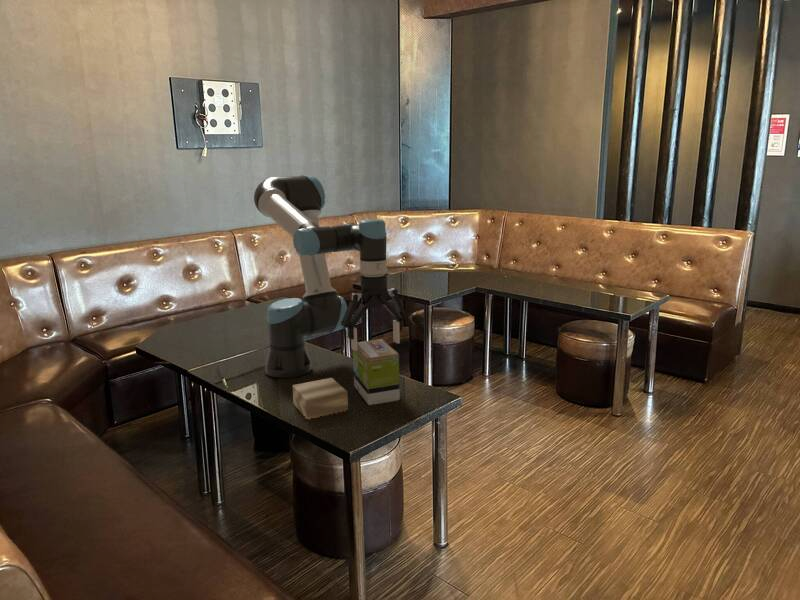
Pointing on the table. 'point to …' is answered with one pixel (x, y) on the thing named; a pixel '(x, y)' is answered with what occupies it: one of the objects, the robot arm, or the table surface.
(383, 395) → the tea box
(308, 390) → the oak block
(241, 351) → the table surface
